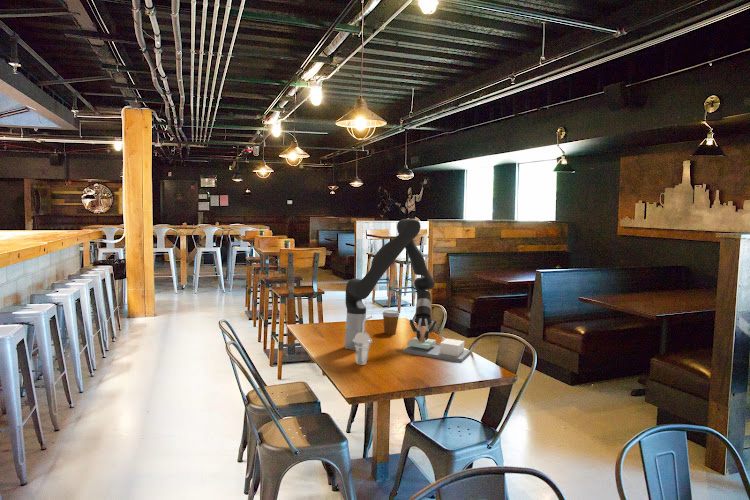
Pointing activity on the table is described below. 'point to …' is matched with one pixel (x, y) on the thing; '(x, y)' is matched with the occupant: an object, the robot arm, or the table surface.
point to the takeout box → (451, 347)
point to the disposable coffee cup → (390, 321)
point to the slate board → (436, 353)
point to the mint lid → (422, 340)
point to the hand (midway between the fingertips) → (422, 338)
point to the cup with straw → (362, 345)
